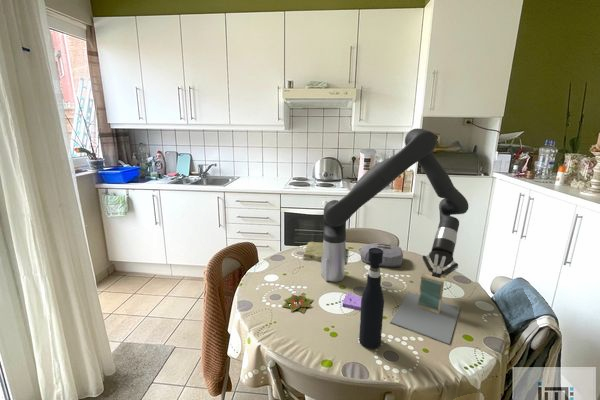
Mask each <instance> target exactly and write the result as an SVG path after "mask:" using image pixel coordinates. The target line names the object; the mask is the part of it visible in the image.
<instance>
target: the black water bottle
mask: <svg viewBox="0 0 600 400" xmlns="http://www.w3.org/2000/svg"><path fill="white" fill-rule="evenodd" d="M382 259H383V250H381V249H379V248H370V249H369V255H368V261H369V262H370V263H369V264H370V265H369V268H368V274H367V276H366V277H367V278H366V285H365V286H364V289H363V291H362V295H361V297H362V298H361V310H360V319H359V333H358V338H359V339H358V340H359V341H358V342H359V343H360V346H362V347H364V348H365V349H368V350H377V349H379V348H380V346H381V344H382V331H383V319H384V305H385V299H384V293H383V289H382V285H381V281H382V276H381V275H382V274H381V269H380V267H381V266H380V264H381V263H382Z"/></svg>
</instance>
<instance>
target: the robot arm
mask: <svg viewBox="0 0 600 400" xmlns="http://www.w3.org/2000/svg"><path fill="white" fill-rule="evenodd" d="M437 142H438V139H437V136H436V134H435V133H434V132H432V131H430V130H428V129H423V128H413V129H411V130H409V131H408V132H407V134H406V135H405V138H404V144H405V146H403V148H402V149H401V150H399V151H398V152H397V153H395V154H394V155H391V156H390V157H388V158H386V159H383V160H382V161H379V162H378V163H376V164H375V165H373V166H372V167H371V168H370V169H369V170H367V171H366V172H364V174H363V175H362V176H361V177H360V178H359V179H358V181H357V182H356V183H355V185H354V186H353V187H352V188H351V190H350V191H349V192H348V193H347V194H346V195H345V196H344V197H342V198H341V199H339V200H338V199H333V200H332V199H331V200H330V201H328V202H327V203H326V204H325V206H324V207H323V230H322V231H323V235H322V236H323V238H322V239H323V241H322V243H323V254H322V258H321V262H320V263H321V264H320V265H321V271H320V272H321V276H322V279H323V280H324V281H325V282H335V283H336V282H337V283H338V282H340V281H341V282H342V281H344V278H345V275H346V274H345V272H346V270H345V268H346V266H345V265H346V251H345V245H346V242H347V241H346V240H347V233H346V232H347V231H346V222H347V221H348V220H350V218H351V217H353V215H354V214H355V213H356V212H357V211H358V210H359V209H361V207H362V206H364V205H365V204H366V203H368V202H369V201H371V199H373V198H374V197H376V196H377V194H379V193H380V192H382V191H383V190H384V189H386V187H388V186H390V184H392V183H393V182H394V181H395V180H396V179H397V178H398V177H400V176H401V175H402V174H403V173H405V171H407V170H408V169H409V168H410V167H412V166H413V165H415V164H416V163H418V164H419V165H420V167H421V168H422V169H423V171H424V173H425V175H426V178H427V179H428V181H429V182H430V185H431V186H432V188H433V191H434V193H435V194H436V196H437V197H439V198H440V199H441V200H440V201H439V206H438V208H439V210H438V211H439V224H438V226H437V230H436V232H435V236H434V240H433V243H432V247H431V251H430V252H429V253H428V254H427V255H422V261H423V262H424V265H425V266H426V268H427V270H428V271H429V273H432V274H431V276H433V277H437V278H441V277H443V276H445V277H446V276H448V275H450V274H452V272H455V271H456V270H457V269H458V268H459V264H458V262H456V261H455V260H454V253H455V248H456V245H457V237H458V231H459V226H460V220H459V219H458V218H457V217H455V216H454V215H464V214H465V213H467V212H468V210H469V206H470V205H469V202H468V199H466V197H465V196H464V195H463V194H462V193H461V192H460V191H459V189H457V187H455V186H454V183H453V182H452V179H451V178H450V176H449V174H448V173H447V171H446V170H445V168H444V167H443V166H442V165H441V163H440V162H439V161H438V160H437V158H436V156H435V155H434V152H433V151H434V149H435V148H436V146H437ZM452 215H453V216H452ZM346 246H347V245H346ZM430 262H432V265H433V266H432V265H431V264H430ZM449 265H450V266H449ZM448 266H449V267H448ZM446 267H447V268H446ZM445 268H446V269H445ZM441 279H442V278H441Z"/></svg>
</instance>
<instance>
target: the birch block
mask: <svg viewBox="0 0 600 400" xmlns="http://www.w3.org/2000/svg"><path fill="white" fill-rule="evenodd" d="M444 285H445V278H437V277H433V276H432V275H430V274H426V273H422V274H421V277H420V284H419V293H418V295H419V302H418V307H420V308H423V309H426V310H429V311H432V312H435V313H438V314H439V312H440V309H441V302H443V301H442V300H443V293H444Z"/></svg>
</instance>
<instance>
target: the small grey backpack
mask: <svg viewBox="0 0 600 400" xmlns="http://www.w3.org/2000/svg"><path fill="white" fill-rule="evenodd" d="M370 248H379V249H381V250H383V259H382V263H381V264H380V266H379V267H384V268H385V267H386V268H387V267H388V268H398V267H399V268H400V267H401V266H402V264H403V261H404V259H403V258H404V254H403V253H404V252H403V249H402V247H400V246H397V245H393V244H386V243H380V242H379V243H378V242H375V243H373V242H372V243H368V244H365V245H363V246H362V247H361V249H360V250H359V254H360V257H361V261H362V262H364V263H365V264H370V262H369V261H368V255H369V249H370Z"/></svg>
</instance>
